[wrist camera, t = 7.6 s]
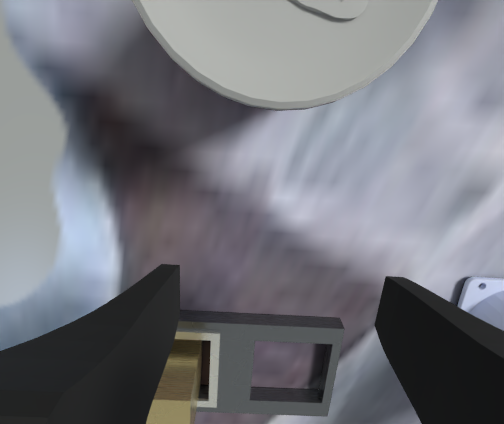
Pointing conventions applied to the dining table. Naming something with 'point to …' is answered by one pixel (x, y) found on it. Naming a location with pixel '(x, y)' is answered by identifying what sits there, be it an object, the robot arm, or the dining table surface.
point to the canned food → (285, 45)
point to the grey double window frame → (242, 353)
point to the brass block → (178, 385)
